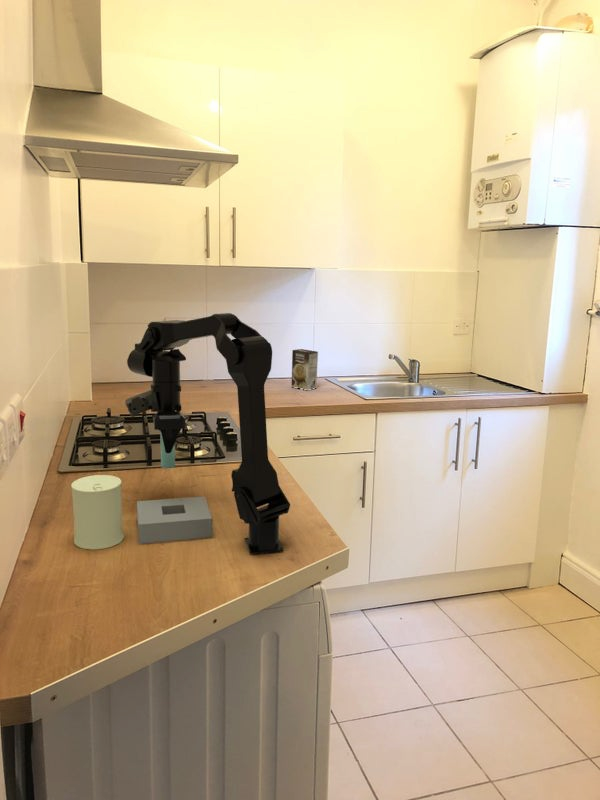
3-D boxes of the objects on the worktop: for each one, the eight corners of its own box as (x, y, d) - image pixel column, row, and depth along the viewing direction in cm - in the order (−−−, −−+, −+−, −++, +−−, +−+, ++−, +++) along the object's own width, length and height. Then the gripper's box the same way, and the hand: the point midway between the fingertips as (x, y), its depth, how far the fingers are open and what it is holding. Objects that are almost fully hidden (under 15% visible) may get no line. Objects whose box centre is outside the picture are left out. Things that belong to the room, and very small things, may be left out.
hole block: (212, 537, 126) (212, 518, 125) (139, 544, 123) (138, 524, 122) (204, 513, 138) (204, 496, 137) (137, 519, 134) (136, 501, 133)
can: (76, 553, 119) (72, 491, 116) (72, 533, 127) (68, 475, 124) (127, 545, 122) (125, 485, 120) (120, 526, 130) (117, 470, 128)
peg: (175, 468, 140) (174, 423, 137) (161, 468, 139) (160, 424, 137) (174, 463, 142) (173, 419, 140) (160, 464, 142) (159, 420, 139)
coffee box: (290, 388, 271) (291, 349, 267) (300, 385, 275) (301, 348, 272) (307, 391, 265) (308, 352, 261) (317, 389, 270) (318, 350, 266)
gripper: (126, 373, 143) (128, 440, 146) (127, 390, 125) (130, 466, 129) (177, 371, 146) (178, 438, 149) (185, 388, 128) (186, 463, 132)
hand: (167, 450), depth 140 cm, fingers closed on peg, 3 cm apart
